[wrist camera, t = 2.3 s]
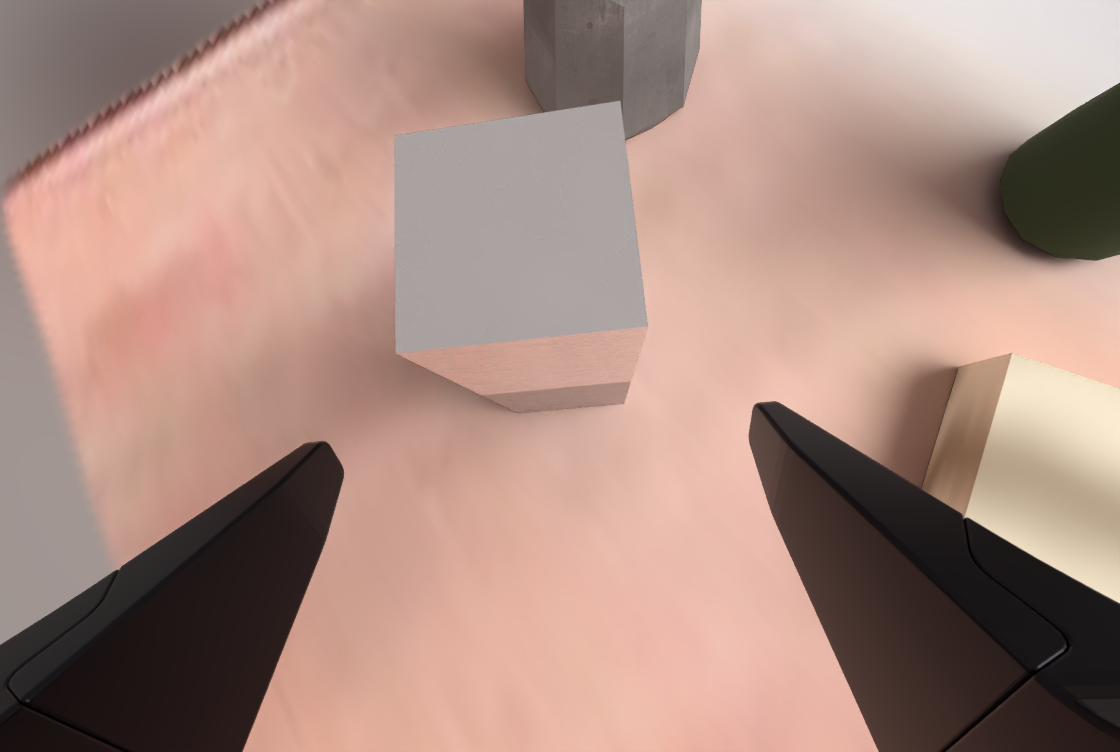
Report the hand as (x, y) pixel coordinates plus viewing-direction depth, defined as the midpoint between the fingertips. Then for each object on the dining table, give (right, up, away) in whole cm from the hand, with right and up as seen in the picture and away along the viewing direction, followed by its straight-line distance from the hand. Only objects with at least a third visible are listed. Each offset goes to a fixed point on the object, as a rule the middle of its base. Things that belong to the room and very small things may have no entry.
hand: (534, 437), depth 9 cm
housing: (+1, +2, +12) cm, 12 cm away
